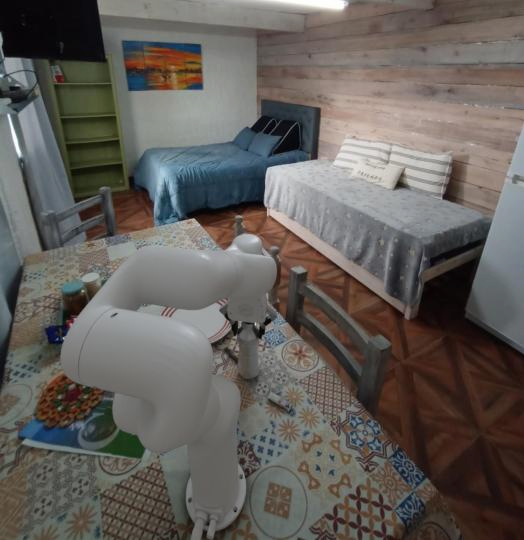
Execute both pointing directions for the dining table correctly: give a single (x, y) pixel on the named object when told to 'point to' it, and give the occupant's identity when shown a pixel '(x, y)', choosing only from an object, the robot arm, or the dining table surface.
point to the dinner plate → (203, 319)
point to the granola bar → (280, 401)
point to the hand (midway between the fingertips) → (248, 333)
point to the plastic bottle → (248, 350)
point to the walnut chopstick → (231, 354)
